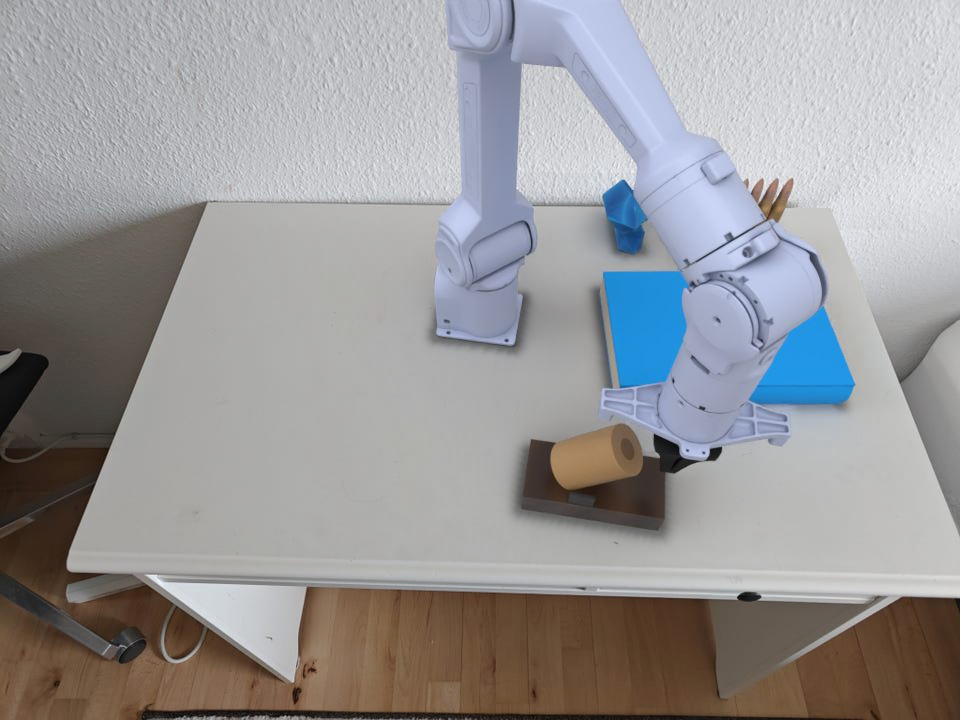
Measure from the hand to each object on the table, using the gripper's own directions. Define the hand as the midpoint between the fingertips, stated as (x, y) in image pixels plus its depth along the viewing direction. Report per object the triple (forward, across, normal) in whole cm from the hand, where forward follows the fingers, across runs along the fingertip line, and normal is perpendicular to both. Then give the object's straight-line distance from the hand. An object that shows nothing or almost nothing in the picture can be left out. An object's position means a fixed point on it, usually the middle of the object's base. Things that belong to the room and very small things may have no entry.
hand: (667, 462), depth 57 cm
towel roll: (+3, -5, 0) cm, 5 cm away
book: (+8, +7, +20) cm, 23 cm away
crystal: (+8, -4, +37) cm, 38 cm away
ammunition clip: (+8, +9, +36) cm, 39 cm away
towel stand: (+8, -6, 0) cm, 10 cm away
